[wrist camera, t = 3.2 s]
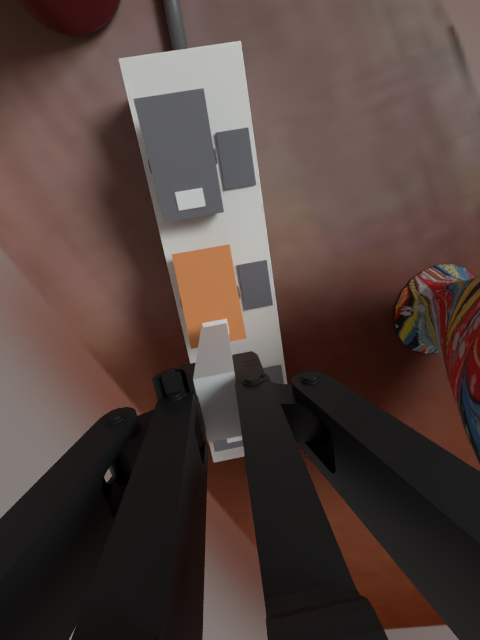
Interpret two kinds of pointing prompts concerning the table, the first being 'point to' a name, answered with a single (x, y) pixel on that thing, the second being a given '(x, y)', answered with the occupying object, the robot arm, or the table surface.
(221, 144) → the power strip
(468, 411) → the vase
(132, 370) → the table surface
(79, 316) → the table surface
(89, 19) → the soda can
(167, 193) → the rocker
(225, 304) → the rocker middle
